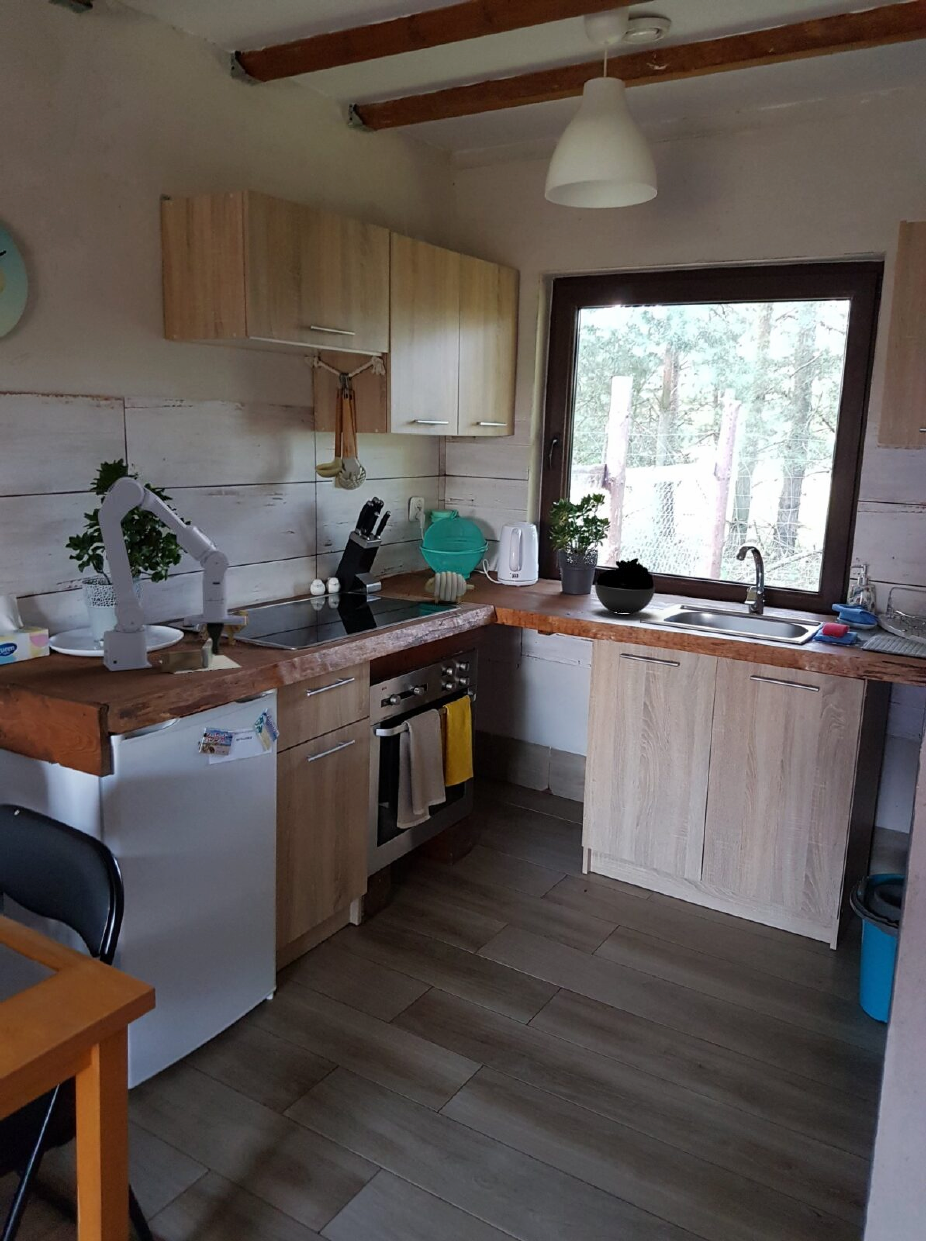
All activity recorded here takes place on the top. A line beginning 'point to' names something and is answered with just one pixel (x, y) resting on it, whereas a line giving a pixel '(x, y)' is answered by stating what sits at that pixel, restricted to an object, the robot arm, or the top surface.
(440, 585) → the toy sheep
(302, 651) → the top surface
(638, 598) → the bowl of black rocks
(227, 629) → the lion figurine
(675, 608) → the top surface
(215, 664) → the card
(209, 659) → the pale green long block
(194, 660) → the brown wooden block
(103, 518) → the robot arm
